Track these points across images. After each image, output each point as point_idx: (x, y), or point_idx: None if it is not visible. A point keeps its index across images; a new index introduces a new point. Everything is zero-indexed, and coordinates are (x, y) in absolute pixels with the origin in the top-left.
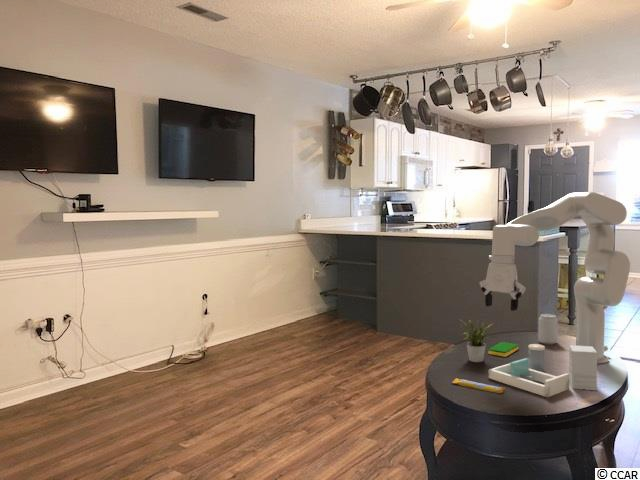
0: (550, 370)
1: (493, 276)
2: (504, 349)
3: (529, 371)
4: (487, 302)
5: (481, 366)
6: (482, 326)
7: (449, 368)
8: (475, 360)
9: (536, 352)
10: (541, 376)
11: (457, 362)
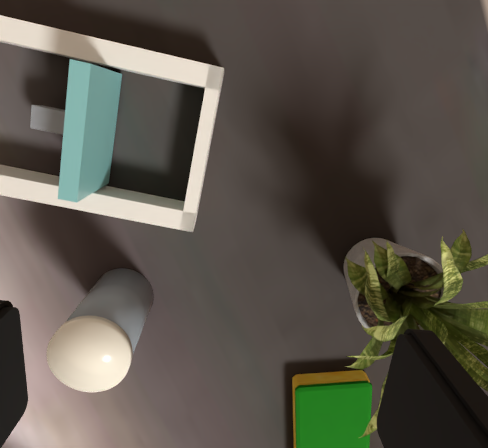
0: None
1: None
2: (314, 415)
3: None
4: (428, 366)
5: (318, 202)
6: None
7: (423, 79)
8: (366, 241)
9: (79, 313)
10: (23, 176)
11: (426, 185)
